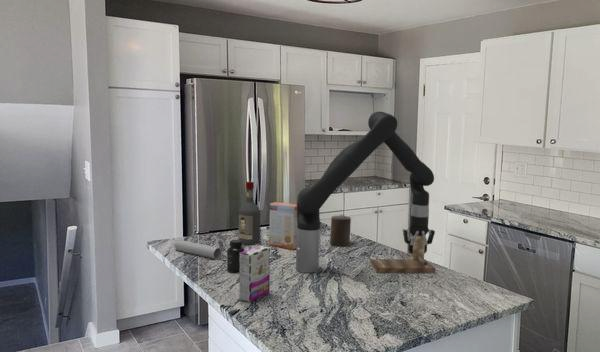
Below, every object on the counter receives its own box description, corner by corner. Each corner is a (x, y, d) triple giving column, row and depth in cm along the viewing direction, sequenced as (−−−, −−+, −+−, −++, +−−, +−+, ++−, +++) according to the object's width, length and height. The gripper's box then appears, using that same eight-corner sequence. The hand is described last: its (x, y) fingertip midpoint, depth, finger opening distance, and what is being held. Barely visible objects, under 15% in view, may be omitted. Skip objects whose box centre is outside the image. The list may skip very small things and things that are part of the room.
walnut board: (377, 272, 187) (377, 267, 187) (370, 263, 199) (370, 259, 199) (435, 272, 189) (435, 267, 189) (425, 264, 201) (425, 259, 201)
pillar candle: (340, 247, 223) (341, 217, 222) (325, 243, 231) (327, 213, 229) (353, 245, 230) (355, 215, 228) (339, 240, 237) (341, 212, 235)
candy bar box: (258, 290, 165) (259, 244, 163) (269, 293, 162) (270, 247, 160) (238, 299, 155) (238, 251, 153) (249, 303, 153) (250, 254, 151)
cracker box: (299, 247, 222) (300, 204, 219) (292, 250, 217) (293, 206, 214) (275, 242, 229) (276, 201, 227) (268, 245, 224) (269, 202, 222)
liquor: (248, 239, 235) (249, 180, 232) (262, 242, 230) (263, 182, 226) (235, 242, 228) (236, 182, 224) (249, 246, 222) (250, 184, 219)
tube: (171, 242, 210) (212, 251, 197) (179, 237, 214) (220, 245, 201) (174, 252, 212) (215, 262, 199) (182, 246, 216) (222, 255, 203)
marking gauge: (419, 270, 191) (421, 241, 190) (410, 261, 204) (411, 234, 203) (431, 270, 192) (433, 241, 190) (421, 261, 204) (422, 234, 203)
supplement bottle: (223, 270, 186) (223, 240, 184) (236, 266, 191) (237, 237, 189) (234, 274, 181) (234, 244, 180) (247, 270, 186) (248, 241, 185)
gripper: (406, 216, 196) (403, 255, 198) (439, 216, 197) (436, 255, 199) (400, 212, 203) (398, 250, 205) (432, 213, 205) (430, 250, 207)
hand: (417, 252), depth 202 cm, fingers open, 5 cm apart
